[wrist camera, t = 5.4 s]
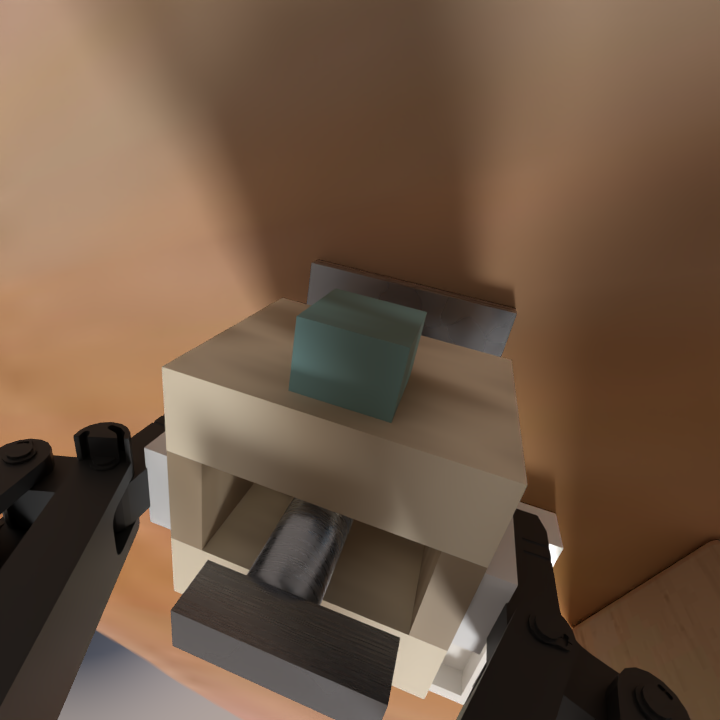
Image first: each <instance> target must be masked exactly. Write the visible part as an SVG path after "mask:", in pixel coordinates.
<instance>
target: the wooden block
mask: <svg viewBox="0 0 720 720" xmlns="http://www.w3.org/2000/svg"><path fill="white" fill-rule="evenodd" d="M572 630H573V633H574V636H575V638H576V641H577V642H578V643H579V644H580V645H581V646H582V647H583V648H584V649H586V650H587V651H588V652H589V653H591V654H592V655H593V656H595V657H596V658H598V659H599V660H601V661H602V662H603V663H605V664H606V665H608V666H609V667H611V668H612V669H614V670H615V671H617V672H618V673H621V672H622V671H623V670H624V669H625V668H632V667H637V668H639V669H642V670H645V671H647V672H650V673H651V674H653V675H654V676H655V677H657V678H658V679H660V680H661V681H663V682H664V683H665V684H666V685H667V686H668V687H669V688H670V689H671V690H672V691H673V692H674V693H675V694H676V695H677V697H678V698H679V700H680V701H681V703H682V704H683V706H684V707H685V709H686V710H687V712H688V715H689V717H690V720H720V540H714V541H710V542H708V543H707V544H705V545H703V546H702V547H700V548H699V549H697V550H696V551H694V552H692V553H691V554H689V555H688V556H686V557H684V558H683V559H681V560H680V561H678V562H677V563H675V564H673V565H672V566H670V567H669V568H667V569H665V570H664V571H662V572H661V573H659V574H658V575H656V576H654V577H653V578H651V579H650V580H648V581H646V582H645V583H643V584H642V585H640V586H639V587H637V588H635V589H634V590H632V591H631V592H629V593H627V594H626V595H624V596H623V597H621V598H620V599H618V600H616V601H615V602H613V603H612V604H610V605H608V606H607V607H605V608H604V609H602V610H601V611H599V612H597V613H596V614H594V615H593V616H591V617H589V618H588V619H586V620H585V621H583V622H582V623H580V624H578V625H577V626H575V627H574V628H573V629H572Z"/></svg>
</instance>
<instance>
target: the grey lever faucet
mask: <svg viewBox="0 0 720 720" xmlns="http://www.w3.org/2000/svg"><path fill="white" fill-rule="evenodd" d="M335 288H337V289H340V290H344V291H348V292H352V293H356V294H360V295H363V296H367V297H371V298H375V299H379V300H383V301H386V302H390V303H394V304H398V305H402V306H406V307H409V308H413V309H417V310H421V311H425V312H427V314H426V318H425V322H424V326H423V330H422V333H421V336H425V337H429V338H433V339H436V340H440V341H444V342H447V343H451V344H455V345H458V346H462V347H466V348H469V349H473V350H477V351H480V352H484V353H488V354H491V355H495V356H499V357H501V355H502V353H503V350H504V347H505V345H506V342H507V339H508V336H509V334H510V331H511V328H512V326H513V323H514V320H515V317H516V315H517V312H516V308H512V307H508V306H504V305H500V304H496V303H492V302H488V301H484V300H480V299H476V298H472V297H468V296H464V295H460V294H455V293H451V292H447V291H443V290H439V289H435V288H431V287H427V286H423V285H419V284H415V283H411V282H407V281H403V280H399V279H395V278H391V277H387V276H383V275H378V274H374V273H370V272H366V271H362V270H358V269H354V268H350V267H346V266H342V265H338V264H334V263H330V262H326V261H322V260H316V261H314V262H312V265H311V273H310V281H309V289H308V298H307V304H308V305H313V304H314V303H316V302H317V301H318V300H320V299H321V298H323V297H324V296H325V295H327V294H328V293H330V292H331V291H332V290H334V289H335ZM353 520H354V519H352V518H349V517H347V516H344V515H341V514H338V513H336V512H333V511H330V510H328V509H325V508H322V507H319V506H317V505H314V504H311V503H308V502H306V501H303V500H300V499H298V498H295V497H294V498H293V499H292V501H291V503H290V504H289V506H288V508H287V509H286V511H285V512H284V514H283V516H282V517H281V519H280V521H279V522H278V524H277V526H276V527H275V529H274V531H273V532H272V534H271V536H270V537H269V539H268V541H267V542H266V544H265V545H264V547H263V549H262V550H261V552H260V554H259V555H258V557H257V559H256V560H255V562H254V564H253V565H252V567H251V569H250V570H249V572H248V573H247V575H244V574H242V573H239V572H237V571H235V570H232V569H230V568H227V567H225V566H222V565H220V564H217V563H215V562H212V561H210V560H207V562H206V563H205V564H204V566H203V567H202V569H201V570H200V571H199V573H198V574H197V575H196V577H195V578H194V579H193V581H192V582H191V584H190V585H189V586H188V588H187V589H186V590H185V592H184V593H183V594H182V596H181V597H180V599H179V600H178V601H177V603H176V604H175V605H174V607H173V608H172V609H171V624H172V642H173V646H174V647H177V648H179V649H181V650H183V651H185V652H188V653H190V654H192V655H194V656H196V657H199V658H201V659H203V660H205V661H207V662H210V663H212V664H214V665H216V666H218V667H221V668H223V669H225V670H227V671H229V672H232V673H234V674H236V675H238V676H240V677H243V678H245V679H247V680H249V681H251V682H254V683H256V684H258V685H260V686H262V687H265V688H267V689H269V690H271V691H273V692H276V693H278V694H280V695H282V696H284V697H287V698H289V699H291V700H293V701H295V702H298V703H300V704H302V705H304V706H306V707H309V708H311V709H313V710H315V711H317V712H320V713H322V714H324V715H326V716H328V717H331V718H333V719H335V720H382V719H383V716H384V714H385V711H386V709H387V706H388V701H389V696H390V691H391V685H392V680H393V674H394V669H395V664H396V658H397V653H398V648H399V642H400V637H397V636H395V635H392V634H390V633H388V632H385V631H383V630H380V629H378V628H375V627H373V626H370V625H368V624H365V623H363V622H360V621H358V620H355V619H353V618H351V617H348V616H346V615H343V614H341V613H338V612H336V611H333V610H331V609H328V608H326V607H323V606H321V602H322V600H323V597H324V595H325V592H326V589H327V587H328V584H329V582H330V579H331V577H332V574H333V571H334V569H335V566H336V564H337V561H338V559H339V556H340V553H341V551H342V548H343V546H344V543H345V541H346V538H347V535H348V533H349V530H350V528H351V525H352V523H353Z"/></svg>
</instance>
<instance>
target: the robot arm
mask: <svg viewBox="0 0 720 720" xmlns="http://www.w3.org/2000/svg"><path fill="white" fill-rule="evenodd" d="M73 437H74V442H75V448H76V453H77V457H66V456H55V455H53V453H52V448H51V446H50V445H49V443H48V442H45V441H43V440H39V439H25V440H18V441H15V442H12V443H9V444H6V445H4V446H2V447H0V514H1V513H3V517H2V518H1V519H0V720H57V719H58V717H59V715H60V712H61V710H62V708H63V705H64V703H65V701H66V698H67V696H68V693H69V691H70V689H71V686H72V684H73V682H74V679H75V677H76V675H77V672H78V670H79V668H80V665H81V663H82V660H83V658H84V656H85V653H86V651H87V649H88V646H89V644H90V642H91V639H92V637H93V635H94V632H95V630H96V628H97V625H98V623H99V621H100V618H101V616H102V614H103V611H104V609H105V607H106V604H107V602H108V600H109V597H110V595H111V592H112V590H113V588H114V585H115V583H116V581H117V578H118V576H119V574H120V571H121V569H122V567H123V564H124V562H125V560H126V557H127V555H128V553H129V550H130V548H131V545H132V543H133V541H134V538H135V536H136V534H137V531H138V529H139V523H140V522H139V517H140V516H141V515H142V514H143V513H144V512H145V511H146V510H147V509H148V508H149V510H150V521H151V522H153V523H156V524H158V525H161V526H163V527H166V528H168V529H171V524H170V506H169V487H168V469H167V451H166V432H165V414H164V416H161V417H159V418H158V419H157V420H155V422H154V423H151V424H150V425H148V426H147V427H146V428H144V429H143V430H141V431H140V432H139V433H137V434H136V435H134V436H133V437H132V438H131V435H130V431H129V429H128V428H127V427H126V426H124V425H122V424H119V423H114V422H105V423H98V424H93V425H90V426H88V427H85V428H83V429H81V430H80V431H78V432H77V433H76V434H75V435H74V436H73ZM486 643H487V652H486V663H485V665H484V667H483V669H482V670H481V672H480V674H479V676H478V677H477V679H476V681H475V683H474V684H473V686H472V687H473V688H472V690H471V692H470V694H469V696H468V698H467V700H466V702H465V704H464V705H463V707H462V709H461V711H460V713H459V715H458V717H457V719H456V720H690V717H689V715H688V712H687V710H686V709H685V707H684V706H683V704H682V703H681V701H680V700H679V698H678V697H677V695H676V694H675V693H674V692H673V691H672V690H671V689H670V688H669V687H668V686H667V685H666V684H665V683H664V682H663V681H661V680H660V679H658V678H657V677H655V676H654V675H653V674H651V673H650V672H647V671H645V670H642V669H639V668H637V667H632V668H625V669H624V670H623V671H622V672H621V673H618V672H617V671H615V670H614V669H612V668H611V667H609V666H608V665H606V664H605V663H603V662H602V661H601V660H599V659H598V658H596V657H595V656H593V655H592V654H591V653H589V652H588V651H587V650H586V649H584V648H583V647H582V646H581V645H580V644H579V643H578V642H577V641H576V638H575V636H574V633H573V630H572V629H571V627H570V626H569V624H568V623H567V621H566V620H565V618H563V617H562V616H561V613H560V609H559V602H558V596H557V590H556V584H555V578H554V572H553V566H552V563H551V554H550V550H549V542H548V536H547V531H546V529H545V527H544V526H543V524H542V522H541V521H540V519H539V517H538V516H537V515H535V514H532V513H529V512H526V511H523V510H520V509H517V508H516V510H515V512H514V514H513V516H512V518H511V521H510V523H509V525H508V527H507V529H506V531H505V533H504V535H503V537H502V539H501V541H500V543H499V545H498V547H497V550H496V552H495V554H494V556H493V558H492V560H491V562H490V564H489V566H488V568H487V570H486V572H485V574H484V576H483V579H482V581H481V583H480V585H479V587H478V589H477V591H476V593H475V595H474V597H473V599H472V601H471V603H470V605H469V608H468V610H467V612H466V614H465V616H464V618H463V620H462V622H461V624H460V626H459V628H458V630H457V632H456V634H455V637H454V639H453V641H452V644H455V645H457V646H459V647H462V648H464V649H467V650H469V651H472V652H474V653H477V654H479V655H480V654H481V652H482V650H483V648H484V646H485V644H486Z"/></svg>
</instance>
